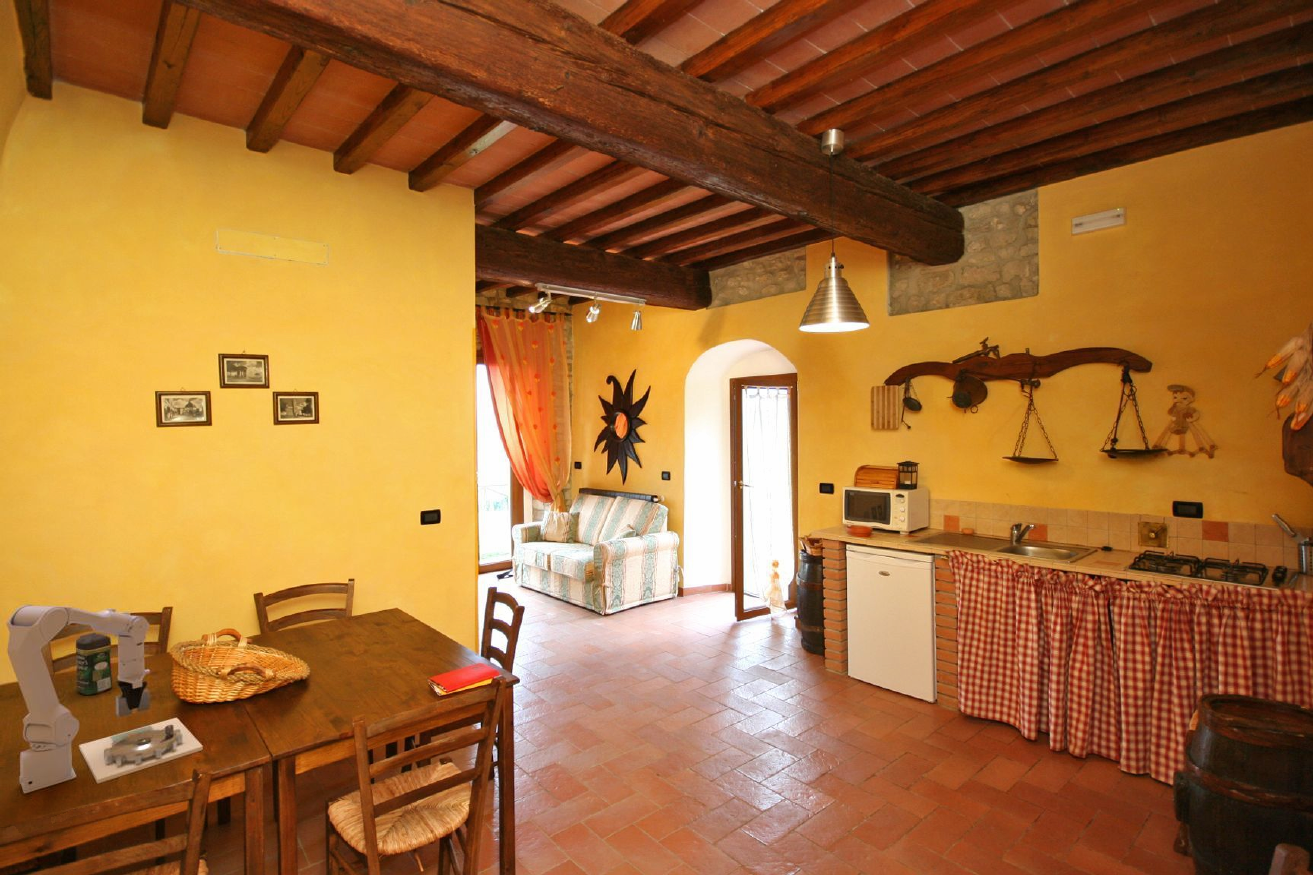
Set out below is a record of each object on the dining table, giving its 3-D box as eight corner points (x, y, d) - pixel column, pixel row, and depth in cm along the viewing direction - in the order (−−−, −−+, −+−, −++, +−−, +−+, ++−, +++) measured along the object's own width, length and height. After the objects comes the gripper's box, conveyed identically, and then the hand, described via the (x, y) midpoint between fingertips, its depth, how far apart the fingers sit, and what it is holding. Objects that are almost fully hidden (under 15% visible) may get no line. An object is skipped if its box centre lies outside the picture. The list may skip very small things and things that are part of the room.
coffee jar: (72, 691, 216) (71, 636, 215) (101, 683, 223) (100, 629, 222) (87, 697, 211) (85, 640, 211) (116, 688, 218) (115, 633, 218)
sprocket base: (97, 783, 162) (97, 778, 162) (79, 748, 179) (79, 744, 179) (202, 749, 178) (202, 745, 178) (176, 720, 195) (176, 716, 195)
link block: (118, 717, 181) (118, 699, 181) (116, 713, 183) (115, 695, 183) (150, 709, 186) (149, 691, 186) (147, 705, 188) (146, 687, 188)
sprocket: (86, 765, 167) (85, 746, 167) (138, 734, 184) (138, 716, 184) (150, 765, 167) (150, 746, 167) (197, 734, 184) (196, 717, 184)
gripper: (155, 660, 182) (156, 708, 183) (143, 648, 192) (143, 694, 192) (123, 667, 177) (124, 717, 177) (112, 655, 186) (113, 702, 187)
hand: (132, 706), depth 184 cm, fingers closed on link block, 3 cm apart
